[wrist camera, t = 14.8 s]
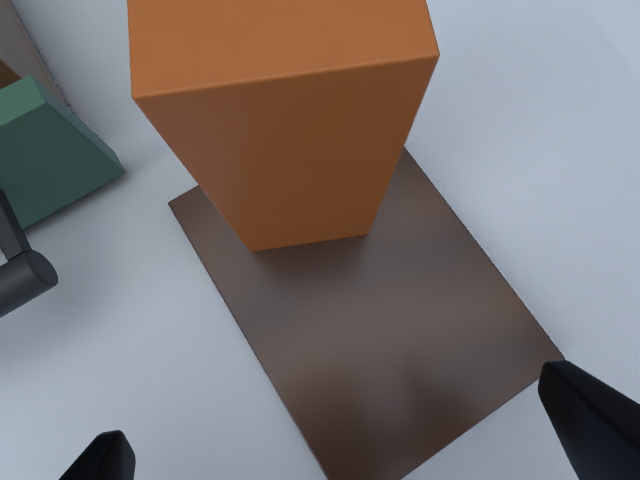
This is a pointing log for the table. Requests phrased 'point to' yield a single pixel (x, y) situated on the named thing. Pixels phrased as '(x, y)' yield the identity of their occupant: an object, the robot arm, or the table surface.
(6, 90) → the drawer
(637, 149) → the table surface
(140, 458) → the table surface
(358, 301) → the board
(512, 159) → the table surface
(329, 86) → the orange rectangular prism
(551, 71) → the table surface
